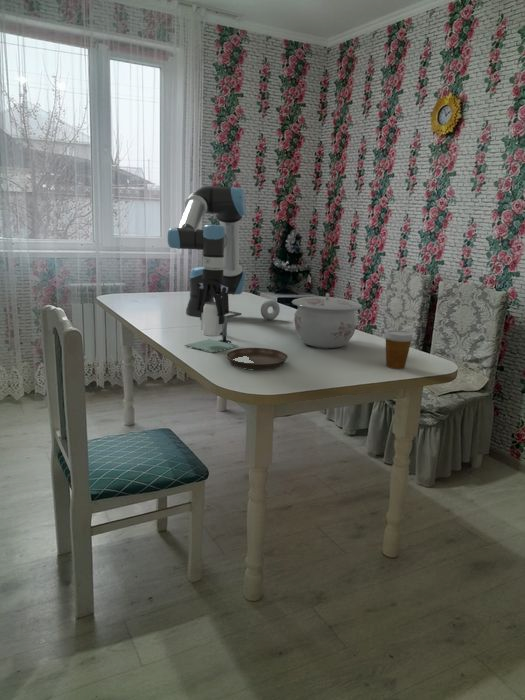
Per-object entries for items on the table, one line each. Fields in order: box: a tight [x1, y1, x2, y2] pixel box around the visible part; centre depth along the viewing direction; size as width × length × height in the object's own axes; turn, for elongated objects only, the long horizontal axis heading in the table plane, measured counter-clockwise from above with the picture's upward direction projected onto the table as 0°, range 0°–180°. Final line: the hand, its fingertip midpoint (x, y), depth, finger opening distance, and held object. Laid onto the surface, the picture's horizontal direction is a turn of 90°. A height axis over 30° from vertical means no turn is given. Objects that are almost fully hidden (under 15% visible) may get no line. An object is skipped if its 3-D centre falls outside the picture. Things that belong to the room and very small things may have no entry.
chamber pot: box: [291, 292, 363, 350], centre depth 211 cm, size 28×28×21 cm
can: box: [202, 301, 220, 337], centre depth 199 cm, size 6×6×12 cm
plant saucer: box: [225, 347, 288, 371], centre depth 181 cm, size 21×21×3 cm
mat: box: [184, 338, 238, 352], centre depth 201 cm, size 14×14×1 cm
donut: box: [260, 299, 281, 321], centre depth 257 cm, size 10×4×10 cm, turn 117°
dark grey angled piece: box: [218, 310, 242, 343], centre depth 215 cm, size 14×14×10 cm
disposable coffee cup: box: [384, 329, 414, 370], centre depth 185 cm, size 10×10×12 cm
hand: (211, 330), depth 200 cm, fingers closed on can, 6 cm apart
